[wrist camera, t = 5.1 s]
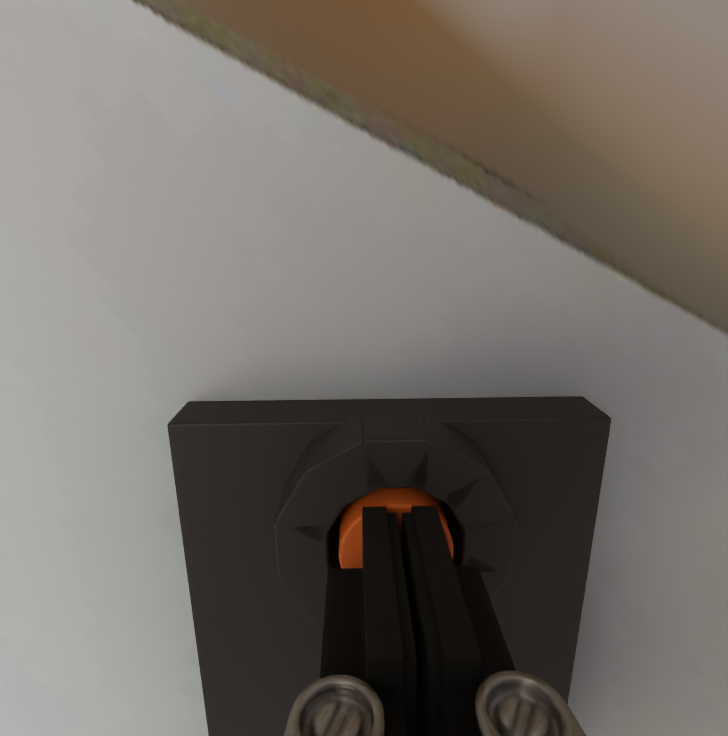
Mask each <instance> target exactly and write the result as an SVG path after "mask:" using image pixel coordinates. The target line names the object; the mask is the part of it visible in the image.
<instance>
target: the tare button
mask: <svg viewBox="0 0 728 736" xmlns="http://www.w3.org/2000/svg"><path fill="white" fill-rule="evenodd" d="M377 506H386V510H387V513H396V518H397V525H398V532H399V539H400V545H401V552H402V514H403V513H411V507H412V506H436V507H437V509H438V512H439V516H440V519H441V523H442V526H443V529H444V533H445V536H446V539H447V543H448V546H449V549H450V553H451V556H452V559H453V541H452V537H451V534H450V531H449V528H448V525H447V521H446V518H445V515H444V512H443V509H442V505H441V502H440V500H439V499H437V498H435V497H433V496H431V495H429V494H427V493H425V492H423V491H421V490H419V489H417V488H378V489H376V490H374V491H372V492H370V493H368V494H366V495H364V496H363V497H361V498H359V499H357V500H355V501H353V502H351V503H349V504H347V505H346V506H344V508H343V509H342V511H341V514H340V536H339V561H340V565H341V568H363V561H362V507H377Z"/></svg>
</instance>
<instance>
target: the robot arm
mask: <svg viewBox="0 0 728 736" xmlns="http://www.w3.org/2000/svg"><path fill="white" fill-rule="evenodd" d="M362 561H363V568H342V569H328V574H327V587H326V600H325V614H324V628H323V641H322V655H321V669H320V679H318V680H316V681H315V682H313V683H312V684H310V685H308V686H307V687H306V688H305V689H304V690H303V691H302V692H301V693H300V695H299V696H298V697H297V698H296V700H295V703H294V705H293V707H292V709H291V711H290V715H289V718H288V722H287V726H286V729H285V733H284V736H586V735H585V733H584V731H583V730H582V728H581V726H580V725H579V723H578V721H577V720H576V718H575V716H574V715H573V713H572V711H571V710H570V708H569V707H568V705H567V703H566V702H565V701H564V700H563V698H562V697H561V696H560V695H559V693H558V692H557V691H556V690H555V689H553V688H552V687H551V686H550V685H549V684H547V683H546V682H545V681H543V680H541V679H539V678H537V677H535V676H533V675H531V674H528V673H524V672H520V671H516V669H515V666H514V663H513V661H512V658H511V655H510V652H509V650H508V647H507V644H506V642H505V639H504V636H503V633H502V631H501V628H500V625H499V622H498V620H497V617H496V614H495V612H494V609H493V606H492V603H491V601H490V598H489V595H488V592H487V590H486V587H485V584H484V581H483V579H482V576H481V573H480V571H479V569H478V568H477V567H476V566H454V563H453V559H452V556H451V553H450V549H449V546H448V543H447V539H446V536H445V533H444V529H443V526H442V523H441V519H440V516H439V512H438V509H437V507H436V506H412V507H411V513H403V514H402V552H401V545H400V539H399V532H398V525H397V518H396V513H387V510H386V506H377V507H362Z"/></svg>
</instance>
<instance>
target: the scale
mask: <svg viewBox="0 0 728 736" xmlns="http://www.w3.org/2000/svg"><path fill="white" fill-rule="evenodd" d="M610 424H611V418H610V417H609V416H608V415H607V414H605V413H604V412H603V411H601V410H600V409H599V408H597V407H596V406H595V405H593V404H592V403H591V402H589V401H588V400H587V399H585V398H584V397H507V398H430V399H353V400H276V401H199V402H188V403H187V404H186V405H185V406H184V407H183V408H182V409H181V410H180V411H179V412H178V413H177V414H176V416H175V417H174V418H173V419H172V420H171V421H170V422H169V423H168V432H169V440H170V447H171V455H172V462H173V470H174V477H175V485H176V492H177V500H178V508H179V515H180V523H181V530H182V538H183V545H184V553H185V560H186V568H187V575H188V583H189V590H190V598H191V605H192V613H193V620H194V628H195V635H196V643H197V650H198V658H199V665H200V673H201V680H202V688H203V695H204V703H205V710H206V718H207V725H208V733H209V736H284V733H285V729H286V726H287V722H288V718H289V715H290V711H291V709H292V707H293V705H294V703H295V700H296V698H297V697H298V696H299V695H300V693H301V692H302V691H303V690H304V689H305V688H306V687H307V686H308V685H310V684H312V683H313V682H315V681H316V680H318V679H320V669H321V655H322V641H323V628H324V614H325V600H326V587H327V574H328V569H342V568H341V565H340V561H339V536H340V514H341V511H342V509H343V508H344V506H346V505H347V504H349V503H351V502H353V501H355V500H357V499H359V498H361V497H363V496H364V495H366V494H368V493H370V492H372V491H374V490H376V489H378V488H417V489H419V490H421V491H423V492H425V493H427V494H429V495H431V496H433V497H435V498H437V499H439V500H440V502H441V505H442V509H443V512H444V515H445V518H446V521H447V525H448V528H449V531H450V534H451V537H452V541H453V563H454V566H476V567H477V568H478V569H479V571H480V573H481V576H482V579H483V581H484V584H485V587H486V590H487V592H488V595H489V598H490V601H491V603H492V606H493V609H494V612H495V614H496V617H497V620H498V622H499V625H500V628H501V631H502V633H503V636H504V639H505V642H506V644H507V647H508V650H509V652H510V655H511V658H512V661H513V663H514V666H515V669H516V671H520V672H524V673H528V674H531V675H533V676H535V677H537V678H539V679H541V680H543V681H545V682H546V683H547V684H549V685H550V686H551V687H552V688H553V689H555V690H556V691H557V692H558V693H559V695H560V696H561V697H562V698H563V700H564V701H565V702H566V703H568V697H569V690H570V684H571V677H572V671H573V664H574V658H575V651H576V645H577V638H578V632H579V625H580V619H581V612H582V606H583V599H584V593H585V586H586V580H587V573H588V567H589V560H590V554H591V547H592V541H593V534H594V528H595V521H596V515H597V508H598V502H599V495H600V489H601V482H602V476H603V469H604V463H605V456H606V450H607V443H608V437H609V430H610Z"/></svg>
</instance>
